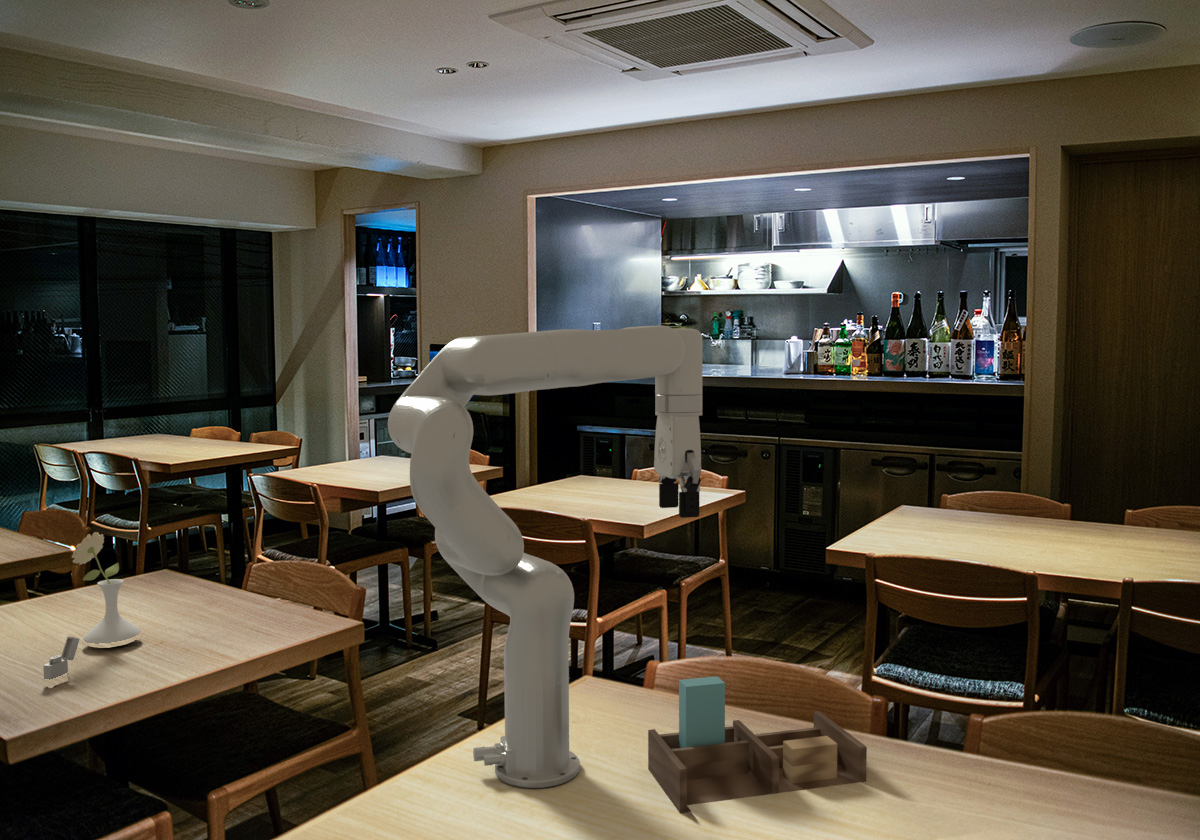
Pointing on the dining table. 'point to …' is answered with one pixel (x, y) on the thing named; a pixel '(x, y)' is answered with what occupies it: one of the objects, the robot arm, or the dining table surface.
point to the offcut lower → (809, 772)
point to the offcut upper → (809, 751)
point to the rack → (745, 763)
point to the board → (701, 711)
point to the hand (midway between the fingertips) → (678, 512)
